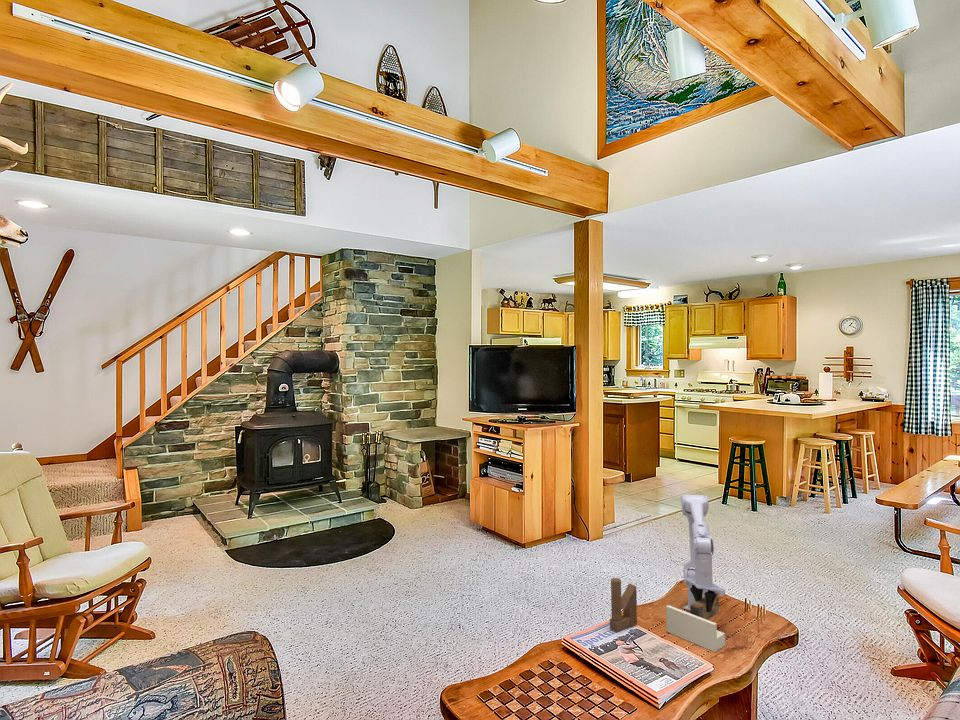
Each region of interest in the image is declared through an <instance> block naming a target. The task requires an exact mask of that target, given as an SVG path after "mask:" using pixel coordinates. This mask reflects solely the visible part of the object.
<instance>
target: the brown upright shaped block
mask: <svg viewBox="0 0 960 720" xmlns="http://www.w3.org/2000/svg"><path fill="white" fill-rule="evenodd" d="M610 593H611V594H610V597H611V598H610V599H611V601H610V602H611V604H610V606H611V607H610V608H611V609H610V610H611V614H610V615H611V618H609V629H610V628H611V629H610V630H612V631H614V632H615V631H616V632H615V633H618V631H619V632H621V631H624V630H626V629H628V628H630V627H631V628H632V627H634V626H637V625H638V615H637V613H638V611H637V605H638V602H637V601H638V600H637V598H638V597H637V596H638V595H637V593H638V592H637V586H636V585H635V584H632V583H629V582H628V584H627V586H626V587H625V590H624V592H623V593H622V580H621V579H620V578H618V577H613V578H611V579H610ZM622 611H623V614H622ZM623 629H624V630H623Z"/></svg>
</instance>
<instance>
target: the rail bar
mask: <svg viewBox="0 0 960 720" xmlns="http://www.w3.org/2000/svg"><path fill="white" fill-rule="evenodd" d="M719 596H720V595H717V596H716V598H715V600H714V603H713V606H712V611H710V612H707V609H706V598H705V597H704V598H702V599H700V600H698V601H697V602H695V603H693V604H691V605H690V612H689V613H690V614H693V615H696V616H698V617H701V618H703V619H706V620H710V619H711V618H713V617H715V616H717V615H718V614H720V603H719V600H720V597H719Z"/></svg>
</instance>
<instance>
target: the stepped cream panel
mask: <svg viewBox="0 0 960 720" xmlns="http://www.w3.org/2000/svg"><path fill="white" fill-rule="evenodd" d="M665 618H666V619H665V620H666V621H665V622H666V625H665V626H666V628H665V629H666V632H667V633H669V634H672V635H674V636H677V637H679V638H681V639H683V640H686V641H688V642H691V643H693V644H695V645H697V646H700V647H702V648H705V649H707V650H709V651H711V652H713V653H715V652H717V651H719V650H721V648H723V647H725V646H726V633H725V632H723V631H721V630H718V629H717V628H718V627H717V626H718V625H717V623H716V622H714V621H712V620H710V619H708V620H706V619H703V618H701V617H698V616H696V615H693V614H690V612H688V611H685V610H683V609H680V608H677V607H674V606H671V605H669V604H668V605H666V606H665Z"/></svg>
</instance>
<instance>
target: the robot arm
mask: <svg viewBox="0 0 960 720" xmlns="http://www.w3.org/2000/svg"><path fill="white" fill-rule="evenodd" d="M680 499H681V500H680V505H681V513H682V516H685V517H686V518H687V521H688V534H689V535H688V537H689V550H690V551H689V554H690V556H689V557H690V558H689V560H688V561H687V562H685V563H683V564H684V565H683V584H685V585H686V586H687V605H684V606H683V607H682V608H683V609H684V610H686V611H690V605H691V604H693V603H695V602H697V601H698V600H700V599H702V598H704V597H705V598H706V609H707V612H710V611H712V606H713V603H714V600H715V598H716V596H721V597H723V596H725V595H726V589H725V588H722V587H720V586H718V585H716V584H714V582H713V555H714V552H715V551H714V550H715V548H714V547H715V546H714V540H713V537H712V536H711V535H710V529H709V525H708V524H707V523H706V522H705V517H706V516H707V514H708V511H709V497H708V496H707V494H703V495H699V494H684V493H683V494H681V496H680Z"/></svg>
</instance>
